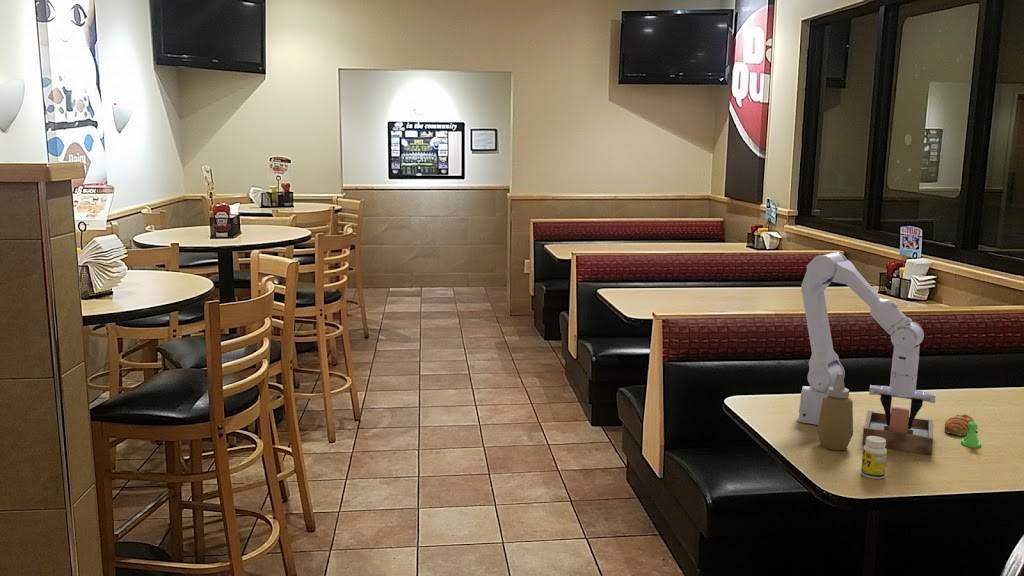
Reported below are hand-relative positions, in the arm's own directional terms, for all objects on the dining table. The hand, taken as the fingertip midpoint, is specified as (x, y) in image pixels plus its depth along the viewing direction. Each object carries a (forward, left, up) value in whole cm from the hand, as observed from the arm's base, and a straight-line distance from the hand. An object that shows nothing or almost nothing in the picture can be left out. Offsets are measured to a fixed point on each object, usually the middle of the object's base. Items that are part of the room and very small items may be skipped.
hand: (898, 426), depth 200 cm
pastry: (+14, +15, -4) cm, 21 cm away
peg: (0, 0, -2) cm, 2 cm away
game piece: (+16, +5, -4) cm, 17 cm away
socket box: (0, 0, -3) cm, 3 cm away
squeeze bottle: (-13, -13, -4) cm, 19 cm away
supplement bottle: (-4, -27, -4) cm, 28 cm away
